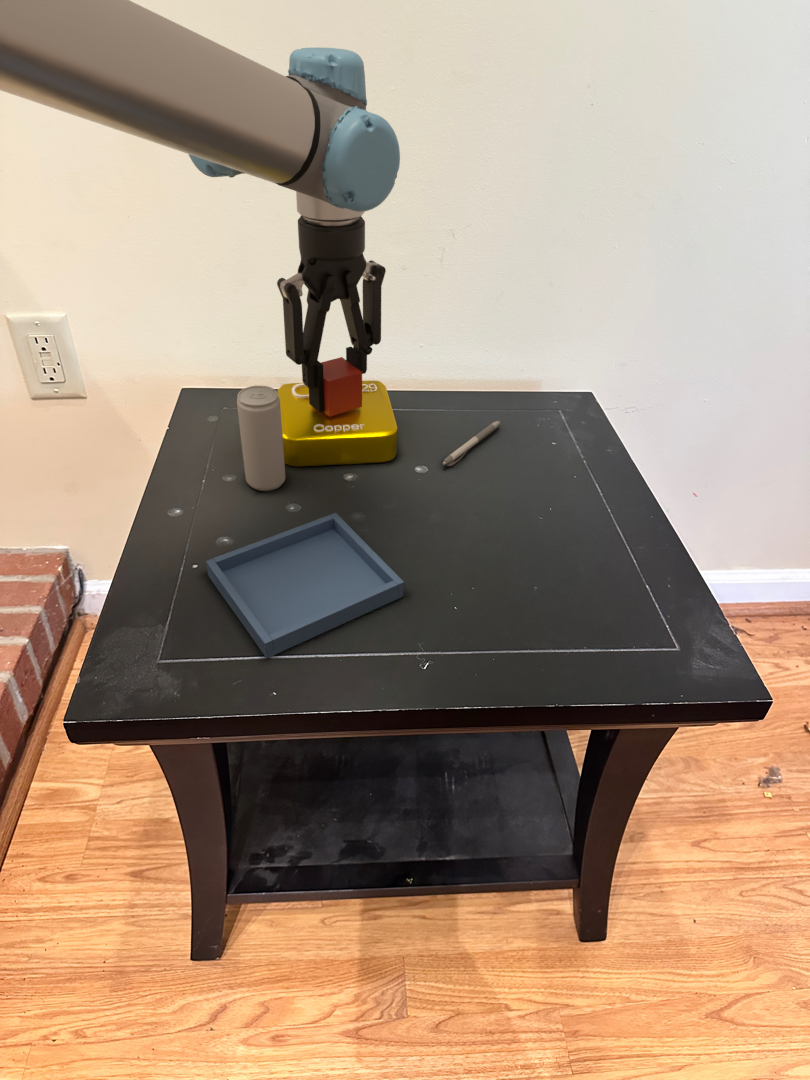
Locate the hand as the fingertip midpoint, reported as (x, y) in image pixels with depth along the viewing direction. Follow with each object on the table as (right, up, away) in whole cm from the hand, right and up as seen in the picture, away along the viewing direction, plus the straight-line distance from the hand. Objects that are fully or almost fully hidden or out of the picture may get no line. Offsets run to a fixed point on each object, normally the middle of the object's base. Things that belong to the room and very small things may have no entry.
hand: (335, 401), depth 96 cm
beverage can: (-8, -11, -6) cm, 15 cm away
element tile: (0, -4, +3) cm, 5 cm away
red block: (0, 0, 0) cm, 0 cm away
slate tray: (-1, -23, -20) cm, 30 cm away
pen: (+18, -6, +2) cm, 19 cm away
